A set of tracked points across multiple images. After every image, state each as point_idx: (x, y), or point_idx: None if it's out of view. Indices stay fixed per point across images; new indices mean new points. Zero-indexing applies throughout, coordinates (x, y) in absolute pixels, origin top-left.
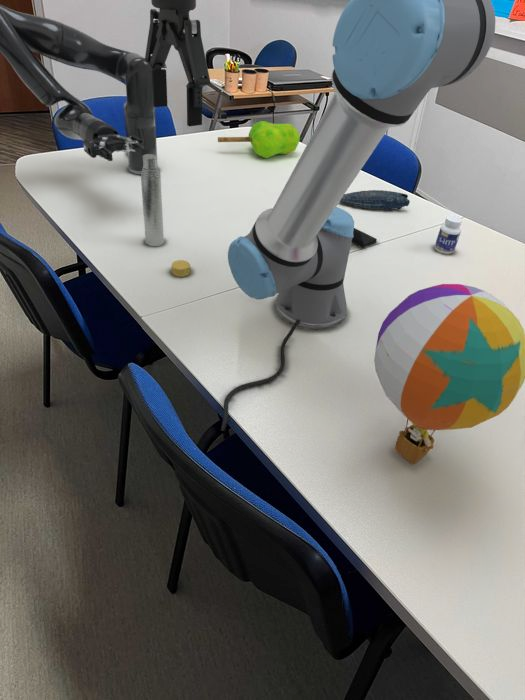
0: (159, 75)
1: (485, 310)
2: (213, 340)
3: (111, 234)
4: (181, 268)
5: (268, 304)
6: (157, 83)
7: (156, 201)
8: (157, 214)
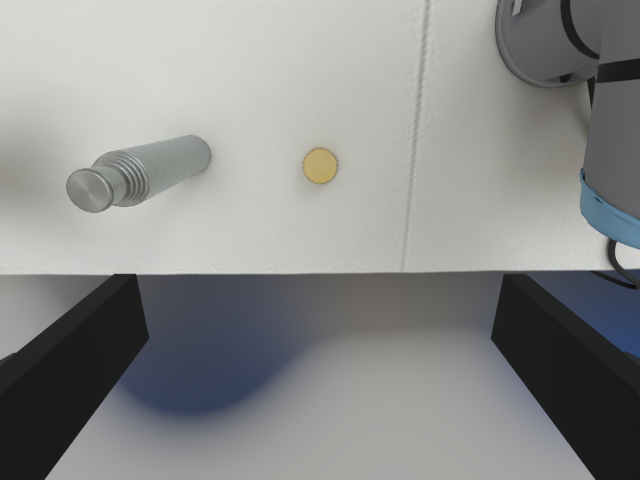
0: (18, 452)
1: None
2: (509, 216)
3: (135, 212)
4: (332, 172)
5: (496, 79)
6: (68, 417)
7: (175, 168)
8: (187, 162)
